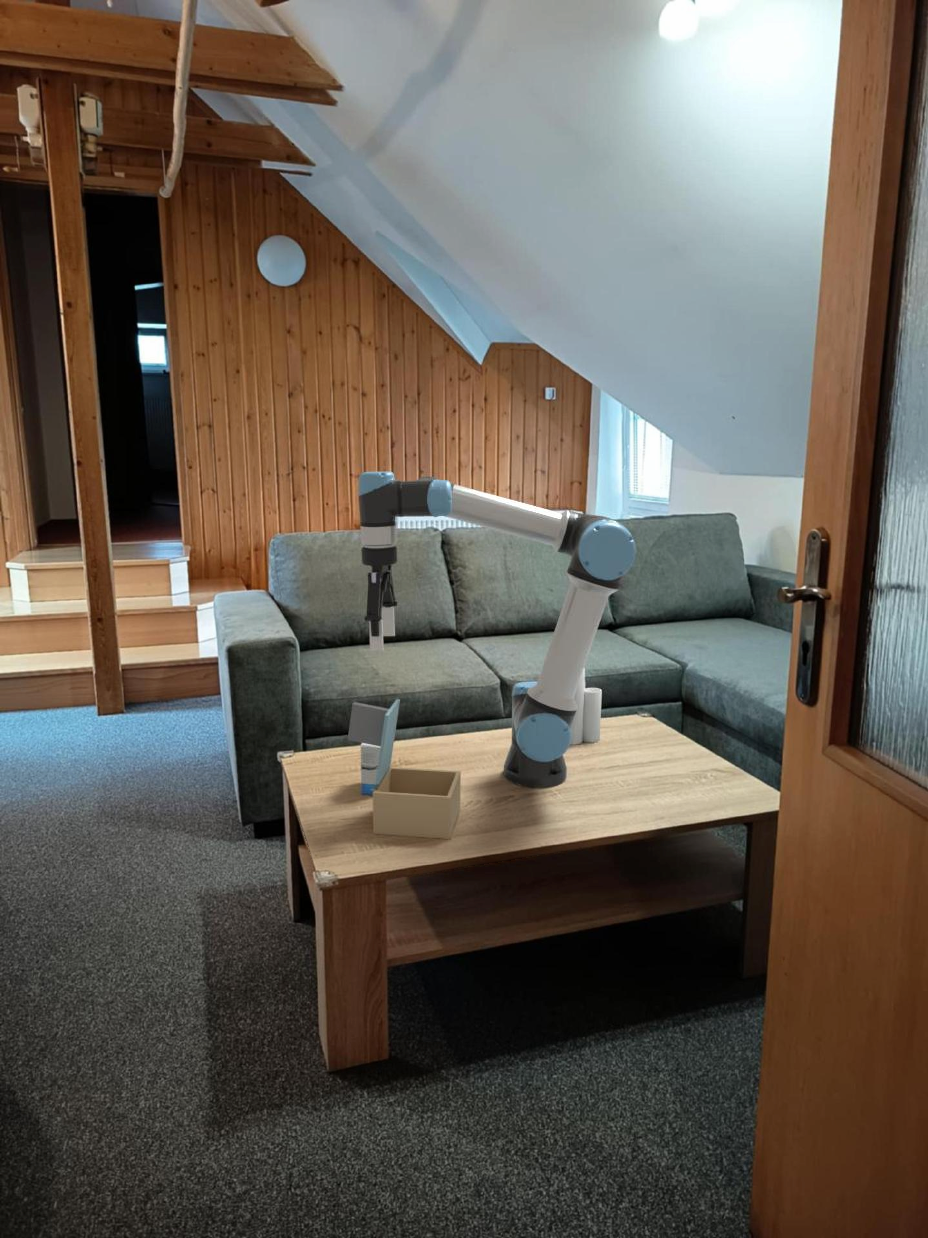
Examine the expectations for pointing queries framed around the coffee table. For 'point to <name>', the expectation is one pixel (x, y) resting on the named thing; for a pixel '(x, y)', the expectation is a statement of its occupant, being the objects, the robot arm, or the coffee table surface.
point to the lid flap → (375, 732)
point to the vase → (586, 714)
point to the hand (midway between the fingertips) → (383, 643)
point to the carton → (417, 803)
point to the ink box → (369, 767)
